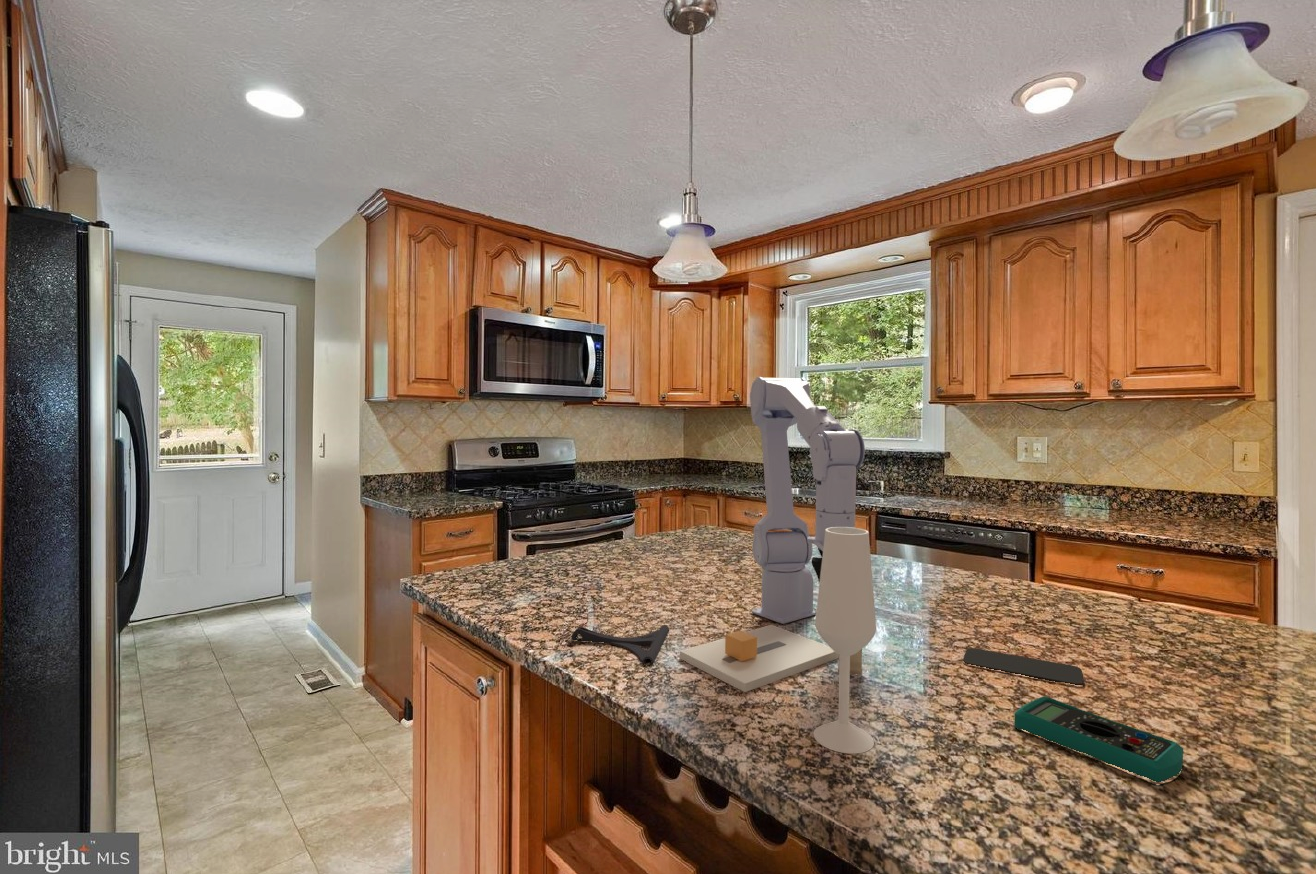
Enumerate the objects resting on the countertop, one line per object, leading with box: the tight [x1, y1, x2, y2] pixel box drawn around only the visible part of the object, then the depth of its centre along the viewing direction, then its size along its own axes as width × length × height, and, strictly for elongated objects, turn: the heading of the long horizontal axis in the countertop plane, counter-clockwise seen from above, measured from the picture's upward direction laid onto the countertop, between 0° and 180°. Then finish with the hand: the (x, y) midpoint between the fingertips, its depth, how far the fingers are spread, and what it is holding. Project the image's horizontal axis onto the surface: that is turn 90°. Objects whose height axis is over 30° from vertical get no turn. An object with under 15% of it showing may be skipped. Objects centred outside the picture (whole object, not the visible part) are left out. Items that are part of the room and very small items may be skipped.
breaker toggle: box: [724, 630, 757, 661], centre depth 92 cm, size 3×4×3 cm
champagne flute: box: [813, 527, 877, 755], centre depth 71 cm, size 7×7×24 cm
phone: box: [962, 647, 1084, 686], centre depth 91 cm, size 7×1×15 cm
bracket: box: [571, 624, 670, 665], centre depth 100 cm, size 14×15×3 cm
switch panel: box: [679, 624, 839, 693], centre depth 94 cm, size 20×14×1 cm
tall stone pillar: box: [837, 648, 863, 676], centre depth 90 cm, size 3×3×8 cm
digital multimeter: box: [1013, 696, 1184, 782], centre depth 70 cm, size 7×15×3 cm, turn 35°
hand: (833, 600), depth 93 cm, fingers open, 7 cm apart
